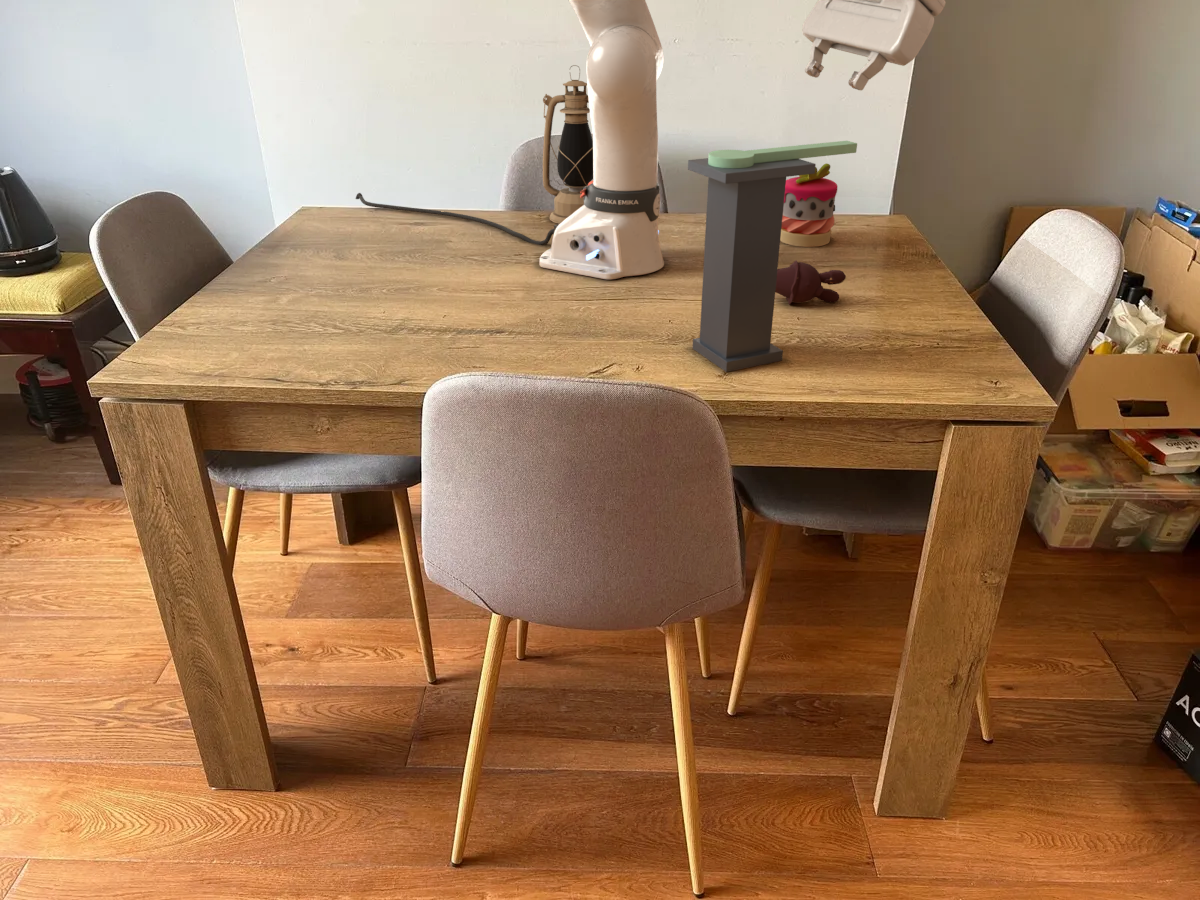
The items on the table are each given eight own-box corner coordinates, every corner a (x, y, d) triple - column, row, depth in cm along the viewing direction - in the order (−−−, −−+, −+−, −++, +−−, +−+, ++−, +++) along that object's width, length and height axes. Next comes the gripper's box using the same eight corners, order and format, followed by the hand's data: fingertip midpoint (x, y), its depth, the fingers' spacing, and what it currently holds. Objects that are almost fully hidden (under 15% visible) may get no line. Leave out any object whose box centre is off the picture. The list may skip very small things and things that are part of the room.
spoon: (837, 147, 118) (838, 138, 117) (864, 155, 113) (866, 145, 113) (699, 161, 110) (700, 151, 110) (723, 170, 106) (724, 159, 105)
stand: (757, 336, 129) (773, 151, 116) (794, 358, 121) (815, 163, 109) (679, 351, 124) (687, 160, 111) (713, 374, 117) (726, 173, 104)
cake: (765, 238, 174) (772, 159, 166) (802, 229, 179) (810, 152, 172) (805, 250, 166) (815, 168, 159) (842, 240, 172) (853, 161, 164)
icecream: (751, 270, 135) (850, 282, 134) (751, 245, 140) (846, 256, 139) (744, 308, 140) (839, 319, 139) (744, 282, 145) (835, 293, 144)
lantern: (614, 211, 192) (614, 62, 178) (609, 225, 182) (609, 68, 168) (548, 210, 194) (543, 61, 179) (539, 224, 183) (533, 68, 169)
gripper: (824, -37, 125) (772, 57, 128) (930, -22, 110) (868, 83, 113) (850, -12, 129) (799, 78, 132) (955, 5, 113) (894, 106, 117)
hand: (831, 81), depth 123 cm, fingers open, 8 cm apart
